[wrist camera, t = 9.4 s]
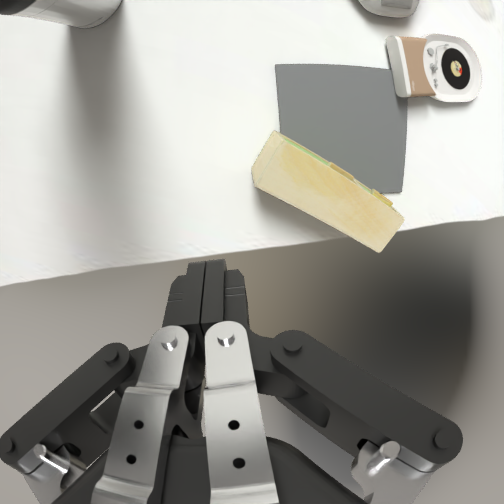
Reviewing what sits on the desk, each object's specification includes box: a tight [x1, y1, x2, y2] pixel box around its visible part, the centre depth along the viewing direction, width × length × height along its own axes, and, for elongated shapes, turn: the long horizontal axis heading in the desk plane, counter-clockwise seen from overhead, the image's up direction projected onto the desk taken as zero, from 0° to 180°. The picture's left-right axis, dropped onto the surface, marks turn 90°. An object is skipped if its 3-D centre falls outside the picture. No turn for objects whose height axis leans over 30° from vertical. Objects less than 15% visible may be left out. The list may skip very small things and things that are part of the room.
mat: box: [275, 64, 407, 193], centre depth 38 cm, size 20×20×1 cm
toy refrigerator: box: [251, 131, 405, 253], centre depth 39 cm, size 8×7×21 cm
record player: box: [386, 34, 482, 102], centre depth 30 cm, size 12×3×20 cm
